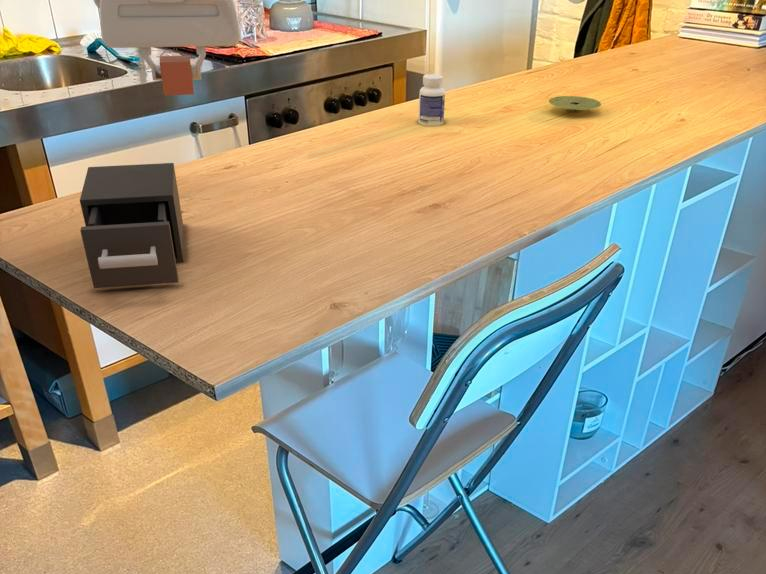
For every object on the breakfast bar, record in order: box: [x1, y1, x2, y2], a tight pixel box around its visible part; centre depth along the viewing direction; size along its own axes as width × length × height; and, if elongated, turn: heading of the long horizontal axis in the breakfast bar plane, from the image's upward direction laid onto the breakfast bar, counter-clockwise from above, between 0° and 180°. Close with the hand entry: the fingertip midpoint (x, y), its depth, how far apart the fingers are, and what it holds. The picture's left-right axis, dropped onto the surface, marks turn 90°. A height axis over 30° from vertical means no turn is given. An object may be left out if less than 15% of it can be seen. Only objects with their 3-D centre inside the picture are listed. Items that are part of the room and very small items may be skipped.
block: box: [159, 55, 195, 96], centre depth 125 cm, size 4×4×4 cm
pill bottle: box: [418, 73, 446, 127], centre depth 166 cm, size 5×5×9 cm
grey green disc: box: [548, 95, 602, 113], centre depth 177 cm, size 11×11×2 cm
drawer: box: [79, 201, 179, 289], centre depth 108 cm, size 17×11×8 cm, turn 11°
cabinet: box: [79, 162, 185, 264], centre depth 116 cm, size 14×12×10 cm
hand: (177, 79), depth 125 cm, fingers closed on block, 4 cm apart
